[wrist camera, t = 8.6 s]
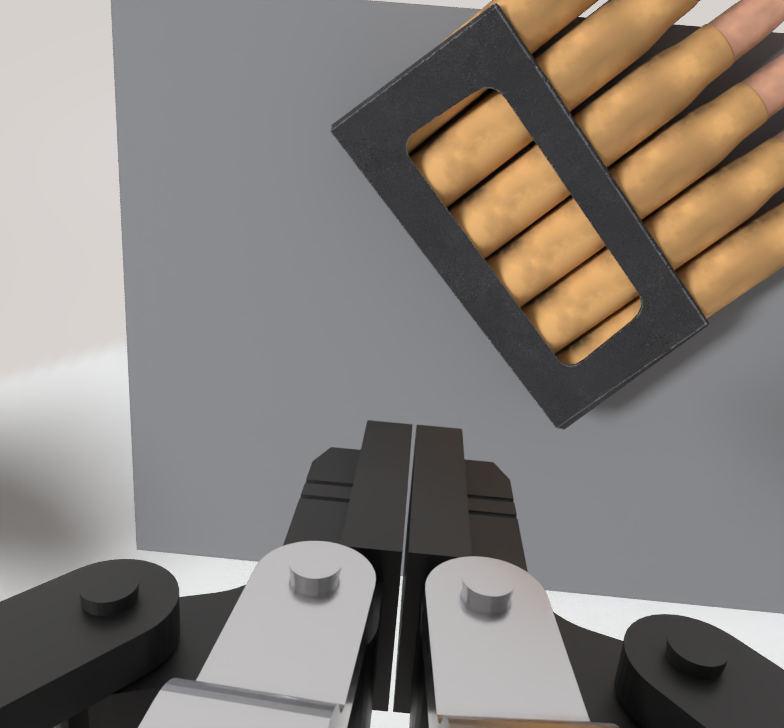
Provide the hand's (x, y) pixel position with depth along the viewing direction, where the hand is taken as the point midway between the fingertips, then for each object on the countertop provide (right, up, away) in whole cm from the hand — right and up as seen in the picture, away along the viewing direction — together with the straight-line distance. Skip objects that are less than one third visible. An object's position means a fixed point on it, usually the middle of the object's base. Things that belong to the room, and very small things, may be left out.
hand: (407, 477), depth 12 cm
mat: (+3, +3, +11) cm, 12 cm away
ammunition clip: (+1, +4, +9) cm, 10 cm away
